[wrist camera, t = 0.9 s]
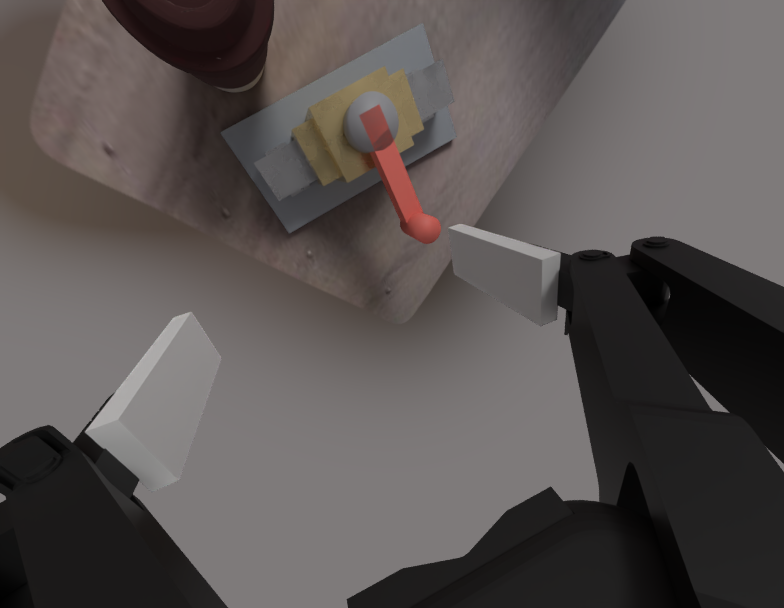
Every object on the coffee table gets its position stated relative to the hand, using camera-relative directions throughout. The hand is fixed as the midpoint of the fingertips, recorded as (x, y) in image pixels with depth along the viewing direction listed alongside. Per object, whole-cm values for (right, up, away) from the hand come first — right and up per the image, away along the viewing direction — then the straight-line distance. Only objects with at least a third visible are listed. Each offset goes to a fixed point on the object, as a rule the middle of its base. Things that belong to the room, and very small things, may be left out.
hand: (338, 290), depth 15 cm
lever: (+2, +13, +15) cm, 20 cm away
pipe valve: (-2, +20, +20) cm, 28 cm away
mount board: (-2, +20, +20) cm, 28 cm away
